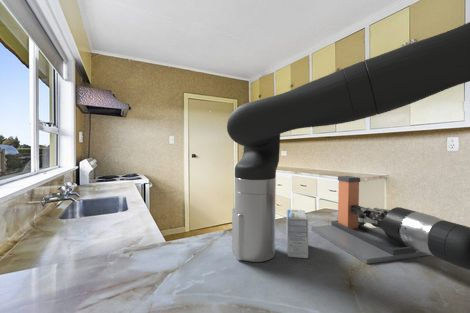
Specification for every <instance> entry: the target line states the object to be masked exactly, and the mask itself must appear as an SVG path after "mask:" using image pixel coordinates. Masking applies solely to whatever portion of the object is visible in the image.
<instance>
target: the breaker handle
mask: <svg viewBox="0 0 470 313" xmlns="http://www.w3.org/2000/svg"><path fill="white" fill-rule="evenodd" d="M337 181H338V194H337V196H338V200H337V201H338V203H337V220H338V223H340V224H343V225H345V226H347V227H349V228H351V229H356V228H358V221H357V215H356V214H353V213H352V212H351V206H352V205H358V206H360V204H359V202H360V201H359V200H360V182H361V177H359V176H352V175H339V176H337Z"/></svg>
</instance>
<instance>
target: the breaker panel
mask: <svg viewBox="0 0 470 313" xmlns="http://www.w3.org/2000/svg"><path fill="white" fill-rule="evenodd" d="M310 228H311V231H312V232H314V233H315V234H318V235H319V236H321V237H322V238H324V239H325V240H326V241H328V242H330V243H332V244H334V245H335V246H336V247H339V248H340V249H342V250H344V251H345V252H347V253H348V254H349V255H351V256H353V257H354V258H356V259H357V260H360V262H363V263H364V264H373V263H374V264H377V263H383V262H389V261H397V260H402V259H403V260H404V259H410V258H418V257H425V256H429V255H428V254H425V253H422V252H420V251H417V250H415V249H413V248H410V247H408V246H406V245H403V244H401V243H399V242H396V241H394V240H392V239H390V238H388V237H387V235H386V234H385V232H384V231H383V229H379V228H376V227H375V226H373V225H372V224H370V223H366V224H364V225H362V226H361V225H359V224H358V228H356V229H351V228H349V227H347V226H345V225H343V224H340V223H338V219H337V220H331V223H330V224H326V225H316V226H315V225H314V226H311V227H310Z"/></svg>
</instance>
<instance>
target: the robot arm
mask: <svg viewBox="0 0 470 313" xmlns="http://www.w3.org/2000/svg"><path fill="white" fill-rule="evenodd" d="M468 82H470V21H469V22H467V23H465V24H462V25H460V26H457V27H455V28H453V29H450V30H447V31H444V32H442V33H438V34H436V35H433V36H431V37H430V36H429V37H427V38H423V39H421V40H418V41H415V42H412V43H408V44H406V45H403V46H401V47H398V48H395V49H392V50H390V51H387V52H384V53H381V54H378V55H376V56H374V57H370V58H368V59H364V60H362V61H360V62H357V63H354V64H352V65H348V66H346V67H344V68H340V69H338V70H336V71H334V72H332V73H330V74H328V75H325V76H322V77H319V78H317V79H315V80H312V81H309V82H307V83H304V84H302V85H300V86H297V87H295V88H292V89H291V90H288V91H285V92H283V93H279V94H276V95H272V96H267V97H265V98H261V99H257V100H254V101H250V102H246V103H243V104H241V105H239V106H238V107H236V108H235V109H234V110H232V112H231V114H230V115H229V117H228V119H227V123H226V130H227V133H228V136H229V137H230V139H231V140H232V141H233V142H235V143H236V144H238V145H240V146H243V152H242V157H241V159H240V160H239V161H238V162H237V163H236V165H235V167H234V208H232V213H231V216H232V217H231V218H232V219H231V222H232V224H231V226H232V227H231V231H232V232H231V238H232V240H231V249H232V250H233V253H234V255H235V258H236V259H237V260H238V261H245V262H250V263H251V262H252V263H261V262H265V261H269V260H272V259H273V258H274V257H275V254H276V188H277V187H276V180H277V169H278V165H279V163H280V162H279V161H280V150H281V146H280V145H281V142H280V141H281V134H283V133H286V132H290V131H295V130H298V129H306V128H316V127H317V128H318V127H325V126H334V125H339V124H341V125H342V124H345V123H351V122H355V121H360V120H363V119H367V118H371V117H374V116H377V115H381V114H385V113H389V112H391V111H394V110H397V109H400V108H403V107H405V106H408V105H411V104H413V103H416V102H419V101H422V100H424V99H426V98H429V97H431V96H433V95H436V94H439V93H442V92H443V91H446V90H448V89H452V88H454V87H457V86H459V85H464V84H466V83H468ZM351 212H352V213H353V214H356V215H357V221H358V224H359V225H361V226H362V225H364V224H366V223H370V224H372V225H373V226H375V227H376V228H379V229H383V231H384V232H385V234H386V235H387V237H388V238H390V239H392V240H394V241H396V242H399V243H401V244H403V245H406V246H408V247H410V248H413V249H415V250H417V251H420V252H422V253H425V254H428V255H427V256H432V257H434V258H437V259H439V260H442V261H445V262H447V263H450V264H453V265H454V266H456V267H459V268H463V269H465V270H467V271H468V270H469V271H470V226H467V225H463V224H459V223H456V222H452V221H449V220H445V219H442V218H440V217H437V216H434V215H431V214H427V213H424V212H419V211H416V210H413V209H408V208H404V207H399V206H398V207H397V206H396V207H393V208H391V209H385V208H378V207H374V208H371V207H363V206H360V205H359V206H358V205H352V206H351Z"/></svg>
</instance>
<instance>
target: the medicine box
mask: <svg viewBox="0 0 470 313" xmlns="http://www.w3.org/2000/svg"><path fill="white" fill-rule="evenodd" d="M286 247H287V249H286V250H287V257H288V258H289V257H290V258H297V259H299V258H300V259H308V258H309V219H308V216H307V215H306V211H305V210H302V209H287V210H286Z"/></svg>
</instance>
